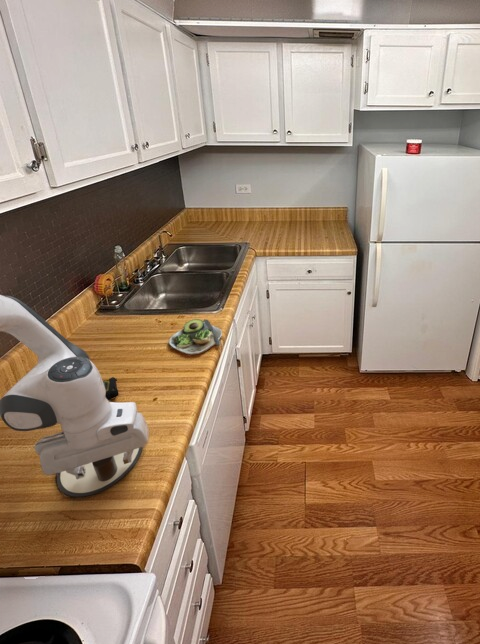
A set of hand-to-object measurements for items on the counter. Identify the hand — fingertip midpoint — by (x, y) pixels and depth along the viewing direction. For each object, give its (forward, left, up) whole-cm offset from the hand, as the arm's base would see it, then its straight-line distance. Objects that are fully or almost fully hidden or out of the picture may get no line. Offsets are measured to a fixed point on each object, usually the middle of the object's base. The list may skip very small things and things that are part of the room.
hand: (105, 467), depth 77 cm
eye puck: (0, 0, -2) cm, 2 cm away
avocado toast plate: (+22, +45, -2) cm, 50 cm away
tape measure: (-4, +27, -2) cm, 27 cm away
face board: (-2, +5, -2) cm, 6 cm away
